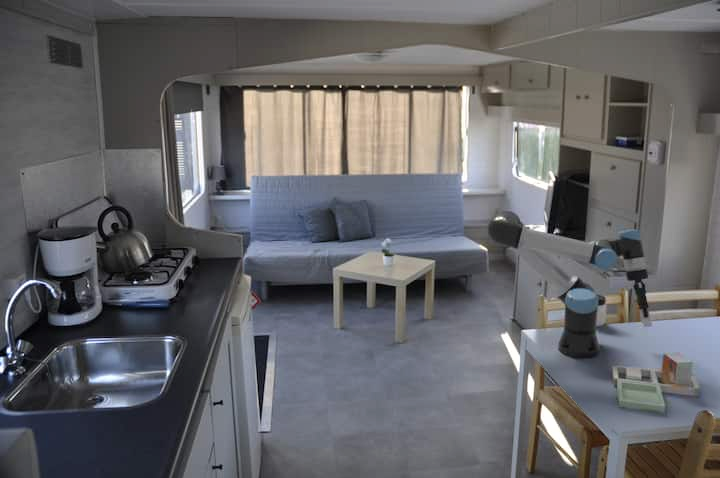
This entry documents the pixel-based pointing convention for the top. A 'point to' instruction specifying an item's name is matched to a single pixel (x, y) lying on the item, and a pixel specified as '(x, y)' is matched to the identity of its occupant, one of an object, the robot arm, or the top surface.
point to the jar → (601, 310)
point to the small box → (676, 369)
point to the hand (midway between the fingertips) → (646, 324)
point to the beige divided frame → (653, 375)
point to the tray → (640, 396)
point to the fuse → (633, 374)
